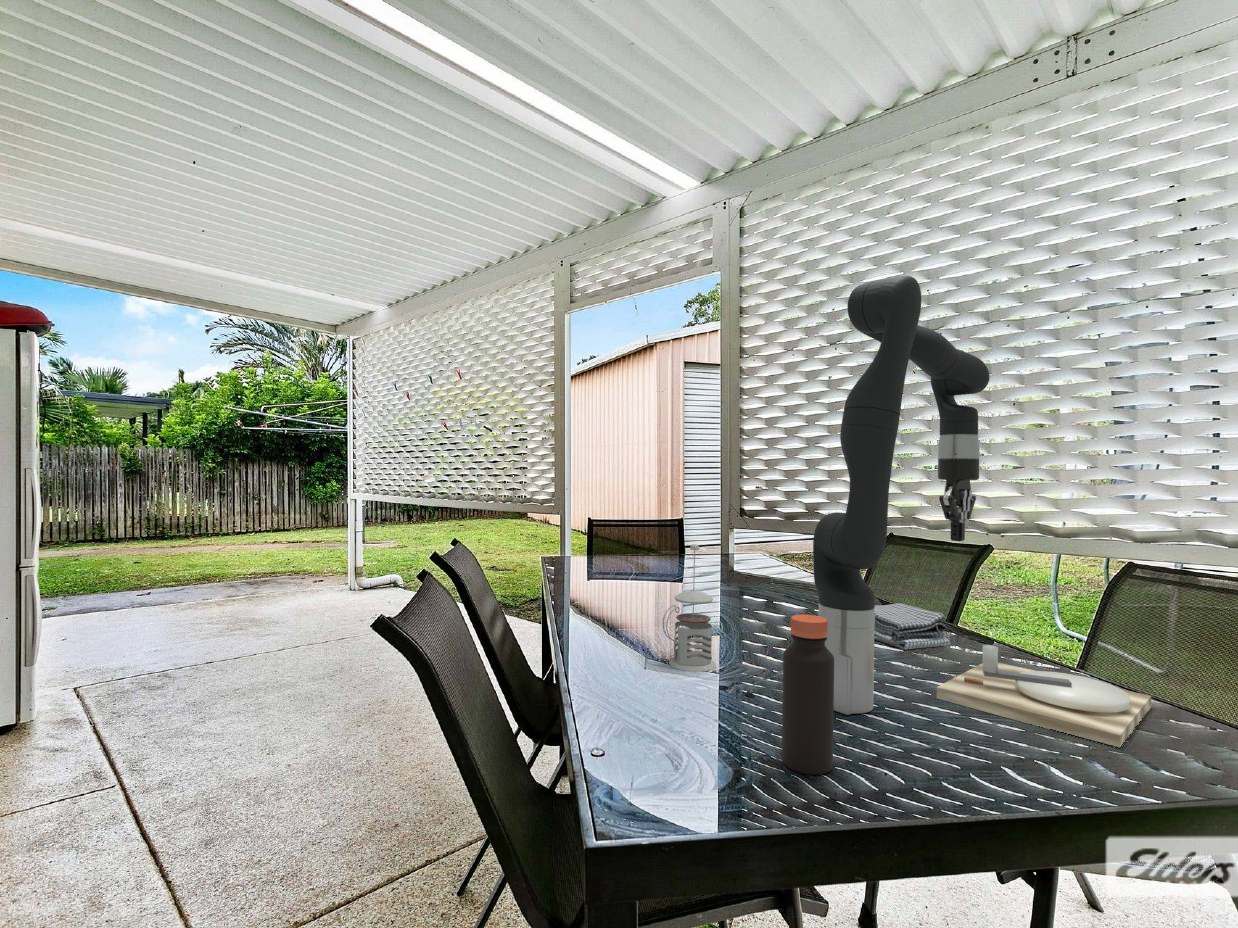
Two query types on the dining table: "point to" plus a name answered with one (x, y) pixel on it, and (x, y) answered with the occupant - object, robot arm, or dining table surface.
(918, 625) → the towel
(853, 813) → the dining table surface
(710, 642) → the french press
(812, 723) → the bottle
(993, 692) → the cutting board
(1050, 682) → the dial
